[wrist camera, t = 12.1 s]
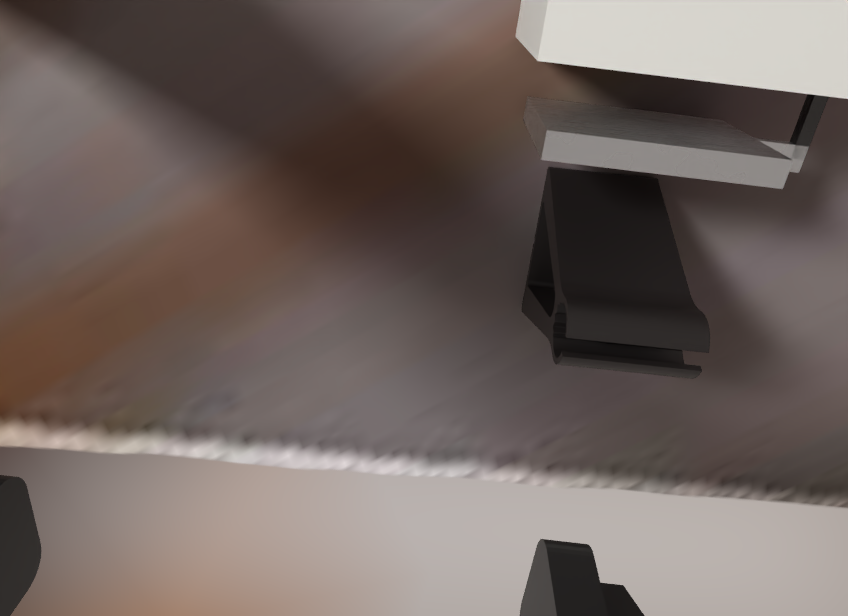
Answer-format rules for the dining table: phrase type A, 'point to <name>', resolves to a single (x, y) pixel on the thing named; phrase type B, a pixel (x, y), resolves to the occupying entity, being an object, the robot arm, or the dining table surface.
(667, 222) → the phone stand
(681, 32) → the box
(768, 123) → the dining table surface
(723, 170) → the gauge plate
